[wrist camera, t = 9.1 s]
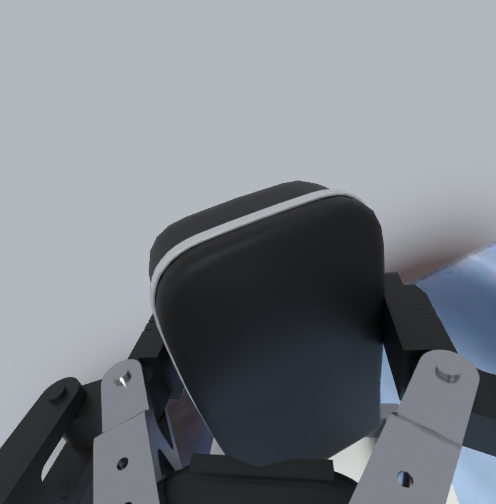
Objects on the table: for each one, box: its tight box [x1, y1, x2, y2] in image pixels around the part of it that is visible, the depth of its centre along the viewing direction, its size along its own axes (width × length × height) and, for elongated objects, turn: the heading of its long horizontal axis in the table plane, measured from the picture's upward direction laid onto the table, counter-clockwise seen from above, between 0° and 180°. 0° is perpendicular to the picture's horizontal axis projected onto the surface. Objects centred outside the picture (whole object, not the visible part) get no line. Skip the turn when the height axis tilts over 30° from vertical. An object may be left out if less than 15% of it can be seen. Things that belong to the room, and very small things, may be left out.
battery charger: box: [149, 181, 385, 467], centre depth 12 cm, size 7×4×11 cm, turn 112°
